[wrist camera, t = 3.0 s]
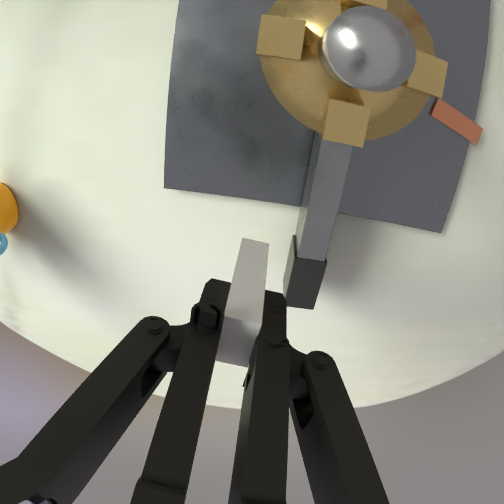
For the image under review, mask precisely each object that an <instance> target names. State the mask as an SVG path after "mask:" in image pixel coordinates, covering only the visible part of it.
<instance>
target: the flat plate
mask: <svg viewBox="0 0 504 504" xmlns="http://www.w3.org/2000/svg"><path fill="white" fill-rule="evenodd" d="M407 1H408V2H409V3H410V4H411V5H412V6H413V8H414V9H415V10H416V11H417V13H418V14H419V15H420V17H421V18H422V20H423V21H424V23H425V25H426V27H427V29H428V31H429V33H430V36H431V38H432V42H433V45H434V49H435V55H436V57H437V58H439V59H442V60H444V61H446V62H448V66H447V72H446V78H445V84H444V90H443V95H442V98H438V97H433V96H430V97H429V100H428V101H427V103H426V105H425V107H424V108H423V109H422V111H421V112H420V113H419V114H418V116H417V117H416V118H415V119H414V120H413V121H412V122H410V123H409V124H408V125H406V126H405V127H404V128H402V129H400V130H399V131H397V132H395V133H393V134H390V135H388V136H385V137H382V138H378V139H373V140H365V141H364V144H363V148H362V147H357V146H353V147H352V152H351V156H350V161H349V165H348V170H347V174H346V178H345V183H344V187H343V191H342V195H341V200H340V204H339V208H338V212H337V213H341V214H347V215H352V216H358V217H363V218H369V219H374V220H379V221H384V222H389V223H394V224H399V225H404V226H409V227H414V228H419V229H424V230H428V231H433V232H438V233H441V231H442V228H443V225H444V223H445V220H446V217H447V214H448V211H449V208H450V206H451V203H452V200H453V197H454V193H455V190H456V187H457V184H458V181H459V178H460V174H461V171H462V167H463V164H464V160H465V157H466V153H467V149H468V145H469V141H470V142H471V143H473V144H474V145H476V144H477V141H478V139H479V137H480V135H481V132H482V130H483V129H482V128H481V127H480V126H478V125H477V124H476V123H474V120H475V116H476V111H477V106H478V101H479V95H480V90H481V84H482V78H483V71H484V64H485V57H486V48H487V39H488V27H489V11H490V0H407ZM275 2H276V0H179V5H178V12H177V19H176V27H175V35H174V43H173V52H172V61H171V71H170V82H169V94H168V107H167V122H166V141H165V165H164V188H167V189H176V190H185V191H193V192H201V193H209V194H217V195H225V196H232V197H239V198H247V199H254V200H260V201H267V202H274V203H280V204H287V205H293V206H300V207H301V205H302V200H303V195H304V190H305V185H306V180H307V174H308V169H309V164H310V158H311V153H312V148H313V142H314V137H315V130H313V129H311V128H309V127H307V126H305V125H304V124H303V123H301V122H300V121H298V120H297V119H296V118H294V117H293V116H292V115H291V114H290V113H289V112H288V111H287V110H286V109H285V108H284V107H283V106H282V105H281V104H280V102H279V101H278V100H277V98H276V97H275V95H274V94H273V92H272V91H271V89H270V87H269V85H268V83H267V81H266V78H265V75H264V73H263V69H262V65H261V60H260V56H258V55H257V54H256V49H257V42H258V35H259V28H260V21H261V14H263V15H267V14H268V12H269V10H270V9H271V7H272V5H273V4H274V3H275ZM317 51H318V58H319V61H320V64H321V66H322V68H323V69H324V71H325V72H326V73H327V75H328V76H329V77H330V78H331V79H333V80H334V81H335V82H337V83H339V84H341V85H343V86H346V87H349V88H355V89H361V90H367V91H372V92H385V91H390V90H392V89H395V88H397V87H399V86H400V85H402V84H403V83H404V82H405V81H406V80H407V79H408V78H409V77H410V75H411V74H412V72H413V70H414V67H415V63H416V47H415V43H414V40H413V37H412V35H411V33H410V31H409V30H408V28H407V27H406V26H405V24H404V23H403V22H402V21H401V20H400V19H399V18H397V17H396V16H395V15H393V14H392V13H390V12H388V11H386V10H384V9H381V8H378V7H374V6H357V7H353V8H350V9H348V10H346V11H344V12H343V13H341V14H340V15H339V16H338V17H337V18H336V19H335V20H334V21H333V22H332V23H331V24H330V25H329V26H328V27H327V28H326V29H325V30H324V31H323V33H322V34H321V36H320V39H319V42H318V48H317Z"/></svg>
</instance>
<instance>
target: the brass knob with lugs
mask: <svg viewBox="0 0 504 504" xmlns="http://www.w3.org/2000/svg"><path fill="white" fill-rule="evenodd" d="M357 6H374V7H378V8H381V9H384V10H386V11H388V12H390V13H392V14H393V15H395V16H396V17H397V18H399V19H400V20H401V21H402V22H403V23H404V24H405V26H406V27H407V28H408V30H409V31H410V33H411V35H412V37H413V40H414V43H415V47H416V63H415V67H414V70H413V72H412V74H411V75H410V77H409V78H408V79H407V80H406V81H405V82H404V83H403V84H402V85H400V86H399V87H397V88H395V89H392V90H390V91H385V92H372V91H367V90H361V89H355V88H349V87H346V86H343V85H341V84H339V83H337V82H335V81H334V80H333V79H331V78H330V77H329V76H328V75H327V73H326V72H325V71H324V69H323V68H322V66H321V64H320V61H319V58H318V51H317V48H318V42H319V39H320V36H321V34H322V33H323V31H324V30H325V29H326V28H327V27H328V26H329V25H330V24H331V23H332V22H333V21H334V20H335V19H336V18H337V17H338V16H339V15H340V14H341V13H343V12H344V11H346V10H348V9H350V8H353V7H357ZM256 54H257V55H258V56H260V60H261V65H262V69H263V73H264V75H265V78H266V81H267V83H268V85H269V87H270V89H271V91H272V92H273V94H274V95H275V97H276V98H277V100H278V101H279V102H280V104H281V105H282V106H283V107H284V108H285V109H286V110H287V111H288V112H289V113H290V114H291V115H292V116H293V117H294V118H296V119H297V120H298V121H300V122H301V123H303V124H304V125H305V126H307V127H309V128H311V129H313V130H315V137H314V142H313V148H312V153H311V158H310V164H309V169H308V174H307V180H306V185H305V190H304V195H303V200H302V205H301V210H300V215H299V220H298V225H297V229H296V234H295V235H293V237H292V241H291V246H290V251H289V256H288V261H287V265H286V270H285V275H284V279H283V295H284V297H285V299H286V301H287V306H288V307H296V308H304V309H312V310H313V309H314V306H315V302H316V299H317V296H318V292H319V289H320V286H321V282H322V279H323V276H324V272H325V269H326V265H327V260H326V254H327V250H328V246H329V243H330V239H331V235H332V231H333V227H334V224H335V220H336V216H337V212H338V208H339V204H340V200H341V195H342V191H343V187H344V183H345V178H346V174H347V170H348V165H349V161H350V156H351V152H352V147H353V146H357V147H362V148H363V144H364V141H365V140H373V139H378V138H382V137H385V136H388V135H390V134H393V133H395V132H397V131H399V130H400V129H402V128H404V127H405V126H406V125H408V124H409V123H410V122H412V121H413V120H414V119H415V118H416V117H417V116H418V114H419V113H420V112H421V111H422V109H423V108H424V107H425V105H426V103H427V101H428V100H429V97H430V96H433V97H438V98H442V95H443V90H444V84H445V78H446V72H447V66H448V62H446V61H444V60H442V59H439V58H437V57H436V55H435V49H434V45H433V42H432V38H431V36H430V33H429V31H428V29H427V27H426V25H425V23H424V21H423V20H422V18H421V17H420V15H419V14H418V13H417V11H416V10H415V9H414V8H413V6H412V5H411V4H410V3H409V2H408V1H407V0H276V2H275V3H274V4H273V5H272V7H271V9H270V10H269V12H268V14H267V15H263V14H261V21H260V28H259V35H258V42H257V49H256Z"/></svg>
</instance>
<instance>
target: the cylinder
mask: <svg viewBox="0 0 504 504" xmlns="http://www.w3.org/2000/svg"><path fill="white" fill-rule="evenodd" d="M18 218H19V211H18V205H17V202H16V199H15V197H14V195H13V193H12V192H11V190H10V189H9V188H8V187H7V186H6V185H4V184H2V183H0V241H1V244H0V255H1V254H3V253H4V251H5V250H6V248H7V245H8V240H7V238H6V236H5V235H6V234H7V233H8V232H9V231H11V230H12V229H13V228H14V227H15V226H16V224H17V222H18Z"/></svg>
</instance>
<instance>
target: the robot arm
mask: <svg viewBox="0 0 504 504" xmlns="http://www.w3.org/2000/svg"><path fill="white" fill-rule="evenodd" d="M268 249H269V244H268V243H263V242H259V241H255V240H250V239H246V238H242V242H241V246H240V250H239V254H238V258H237V262H236V266H235V271H234V275H233V279H232V283H230V282H225V281H221V280H217V279H210V280H209V281H208V282H207V283H206V284H205V287H204V290H203V292H202V295H201V298H200V301H199V303H197V304H195V305H194V306H193V307H192V310H191V318H190V322H189V323H187V324H184V325H179V326H170V325H169V323H168V322H167V321H166V320H164V319H163V318H160V317H157V316H149V317H145V318H144V319H142V320H141V321H140V322H139V323H138V324H137V325H136V326H135V327H134V328H133V329H132V330H131V331H130V332H129V333H128V334H127V335H126V336H125V337H124V339H123V340H122V341H121V342H120V343H119V344H118V345H117V346H116V347H115V348H114V349H113V350H112V351H111V353H110V354H109V355H108V356H107V357H106V358H105V359H104V360H103V361H102V362H101V363H100V364H99V366H98V367H97V368H96V369H95V370H94V371H93V372H92V373H91V374H90V375H89V376H88V378H87V379H86V380H85V381H84V382H83V383H82V384H81V385H80V386H79V388H78V389H77V390H76V391H75V392H74V393H73V394H72V395H71V397H70V398H69V399H68V400H67V401H66V402H65V403H64V404H63V405H62V407H61V408H60V409H59V410H58V411H57V412H56V413H55V414H54V416H53V417H52V418H51V419H50V420H49V421H48V422H47V423H46V425H45V426H44V427H43V428H42V429H41V430H40V432H39V433H38V434H37V435H36V436H35V438H33V440H32V441H31V442H30V443H29V444H28V445H27V447H26V448H25V449H24V450H23V451H22V452H21V454H20V455H19V456H18V457H17V458H15V459H13V460H11V461H9V462H8V463H6V464H4V465H2V466H0V504H72V503H73V501H74V500H75V499H76V497H78V495H79V494H80V493H81V491H82V490H83V489H84V487H85V486H86V485H87V483H88V482H89V480H90V479H91V478H92V476H93V475H94V473H95V472H96V471H97V469H98V468H99V467H100V465H101V464H102V462H103V461H104V459H105V458H106V457H107V456H108V454H109V452H110V451H111V450H112V448H113V447H114V446H115V444H116V443H117V442H118V440H119V439H120V438H121V436H122V435H123V433H124V432H125V431H126V429H127V428H128V426H129V425H130V423H131V422H132V421H133V419H134V418H135V417H136V415H137V414H138V413H139V411H140V410H141V408H142V407H143V406H144V404H145V403H146V401H147V400H148V399H149V397H150V396H151V395H152V393H153V392H154V390H155V389H156V388H157V386H158V385H159V383H160V382H161V381H162V379H163V378H164V377H165V375H166V374H167V372H173V375H172V378H171V381H170V385H169V388H168V391H167V394H166V397H165V400H164V404H163V407H162V410H161V413H160V416H159V420H158V423H157V426H156V429H155V432H154V436H153V439H152V442H151V445H150V449H149V452H148V455H147V459H146V462H145V466H144V469H143V472H142V475H141V477H140V478H139V479H138V481H137V483H136V486H135V489H134V492H133V496H132V499H131V503H130V504H184V503H185V499H186V494H187V489H188V484H189V479H190V475H191V470H192V464H193V460H194V455H195V451H196V446H197V441H198V437H199V432H200V427H201V423H202V418H203V414H204V408H205V404H206V400H207V395H208V391H209V386H210V382H211V377H212V373H213V368H214V363H215V360H216V361H220V362H225V363H229V364H234V365H239V366H243V367H248V364H249V367H248V372H247V375H246V378H245V380H244V383H243V386H242V387H244V394H243V401H242V408H241V416H240V423H239V430H238V438H237V445H236V451H235V459H234V466H233V473H232V480H231V487H230V494H229V501H228V504H286V480H287V455H288V424H289V423H288V422H289V421H288V420H289V408H290V412H291V415H292V419H293V423H294V427H295V431H296V435H297V438H298V442H299V446H300V450H301V453H302V457H303V461H304V465H305V468H306V472H307V476H308V480H309V484H310V487H311V491H312V494H313V498H314V503H315V504H389V501H388V498H387V496H386V493H385V490H384V488H383V485H382V482H381V479H380V477H379V474H378V471H377V468H376V466H375V463H374V460H373V458H372V455H371V452H370V450H369V447H368V444H367V442H366V439H365V436H364V434H363V431H362V429H361V426H360V424H359V421H358V419H357V416H356V413H355V411H354V408H353V406H352V403H351V401H350V398H349V396H348V393H347V391H346V388H345V386H344V383H343V381H342V378H341V376H340V373H339V371H338V368H337V366H336V363H335V361H334V360H333V358H332V357H331V356H330V355H328V354H327V353H324V352H322V351H312V352H310V353H309V354H307V355H306V354H304V353H301V352H299V351H297V350H296V349H294V348H293V347H292V346H291V345H290V344H289V340H288V339H287V337H286V313H287V310H286V308H287V301H286V299H285V297H284V295H283V294H282V293H278V292H273V291H268V290H265V283H266V272H267V260H268Z"/></svg>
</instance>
